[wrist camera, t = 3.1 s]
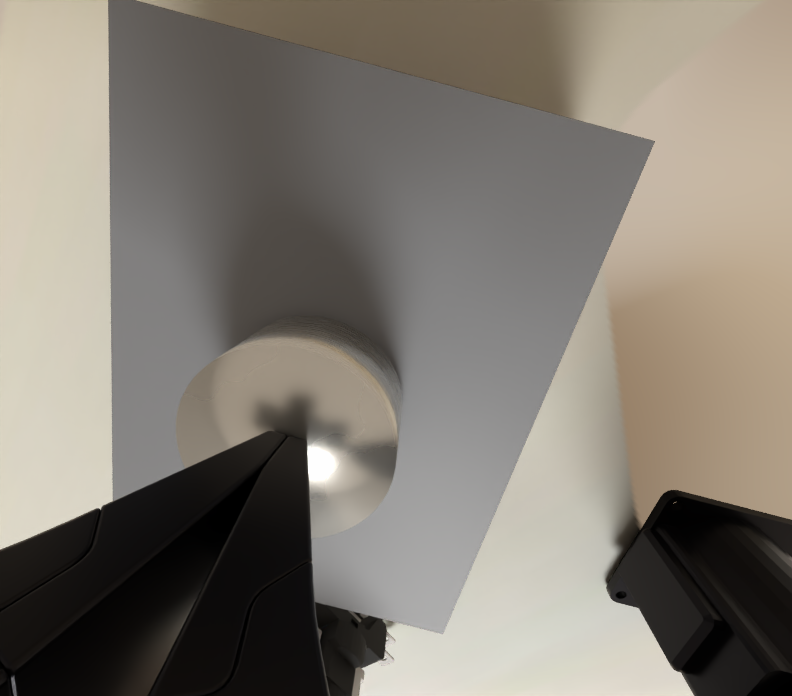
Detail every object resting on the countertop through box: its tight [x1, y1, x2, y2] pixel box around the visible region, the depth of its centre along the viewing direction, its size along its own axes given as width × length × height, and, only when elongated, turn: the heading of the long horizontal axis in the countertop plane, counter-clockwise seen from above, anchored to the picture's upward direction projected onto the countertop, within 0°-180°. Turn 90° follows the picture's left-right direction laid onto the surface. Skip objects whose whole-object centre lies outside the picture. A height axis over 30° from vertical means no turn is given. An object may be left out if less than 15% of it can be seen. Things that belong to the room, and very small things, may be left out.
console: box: [108, 0, 655, 634], centre depth 13 cm, size 12×16×5 cm
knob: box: [176, 316, 403, 538], centre depth 12 cm, size 5×5×8 cm
